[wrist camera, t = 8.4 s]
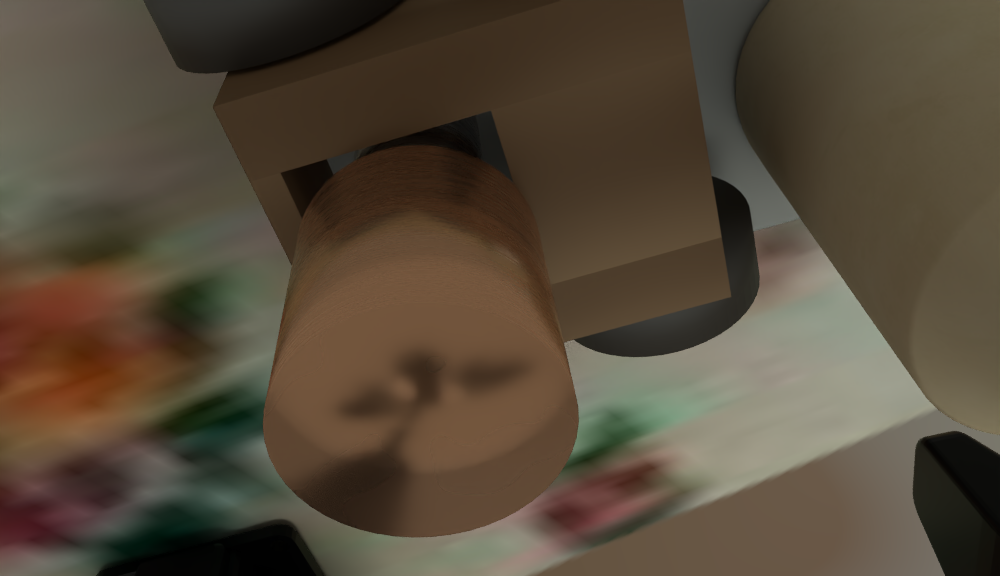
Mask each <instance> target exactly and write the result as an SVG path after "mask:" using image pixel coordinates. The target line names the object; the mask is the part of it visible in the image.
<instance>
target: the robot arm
mask: <svg viewBox="0 0 1000 576" xmlns="http://www.w3.org/2000/svg"><path fill="white" fill-rule="evenodd" d="M913 479H914V480H913V499H914V504H915V507H916V510H917V513H918V516H919V518H920V520H921V523H922V525H923V527H924V529H925V531H926V534H927V536H928V538H929V541H930V543H931V545H932V547H933V549H934V552H935V554H936V556H937V558H938V561H939V563H940V565H941V567H942V570H943V572H944V574H945V576H1000V455H999V454H998V453H996V452H994V451H993V450H991V449H990V448H988V447H986V446H985V445H983V444H981V443H980V442H978V441H977V440H975V439H973V438H972V437H970V436H968V435H966V434H964V433H962V432H958V431H951V432H946V433H941V434H936V435H932V436H927V437H923V438H922V439H920V440H919V441H918V443H917V445H916V449H915V465H914V478H913ZM96 576H324V575H323V573H322V572H321V570H320V568H319V567H318V565H317V564H316V562H315V560H314V559H313V557H312V556H311V554H310V552H309V551H308V549H307V548H306V546H305V544H304V543H303V541H302V540H301V538H300V536H299V535H298V533H297V532H296V531H295V530H294V529H293V528H292V527H290V526H287V525H273V526H269V527H266V528H262V529H258V530H254V531H250V532H246V533H243V534H239V535H235V536H231V537H227V538H223V539H220V540H216V541H212V542H208V543H204V544H200V545H196V546H193V547H189V548H185V549H181V550H177V551H173V552H170V553H166V554H162V555H158V556H154V557H150V558H147V559H143V560H139V561H135V562H131V563H127V564H123V565H120V566H116V567H112V568H108V569H104V570H102V571H100V572H99V573H98V574H97V575H96Z"/></svg>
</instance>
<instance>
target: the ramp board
mask: <svg viewBox="0 0 1000 576" xmlns="http://www.w3.org/2000/svg"><path fill="white" fill-rule="evenodd" d="M769 1H770V0H683V4H684V10H685V16H686V22H687V29H688V35H689V41H690V47H691V53H692V59H693V65H694V71H695V77H696V84H697V90H698V96H699V102H700V108H701V114H702V120H703V126H704V132H705V139H706V145H707V151H708V157H709V163H710V169H711V175H712V176H714V177H717V178H719V179H722V180H724V181H726V182H728V183H730V184H731V185H733V186H734V187H736V188H737V189H738V190H739V191H740V192H741V193H742V194H743V195H744V197H745V198H746V200H747V202H748V204H749V207H750V212H751V219H752V226H753V231H756V230H760V229H764V228H767V227H771V226H775V225H778V224H782V223H785V222H789V221H793V220H796V219H800V217H799V216H798V214H797V213H796V211H795V210H794V208H793V207H792V206H791V204H790V203H789V201H788V200H787V198H786V197H785V196H784V194H783V193H782V191H781V190H780V188H779V187H778V186H777V184H776V183H775V181H774V180H773V178H772V177H771V176H770V174H769V173H768V171H767V170H766V168H765V167H764V165H763V164H762V162H761V161H760V159H759V158H758V156H757V155H756V153H755V152H754V150H753V149H752V147H751V145H750V144H749V142H748V140H747V138H746V135H745V133H744V131H743V128H742V125H741V121H740V118H739V114H738V111H737V104H736V96H735V92H736V75H737V68H738V63H739V59H740V56H741V52H742V49H743V46H744V44H745V41H746V39H747V36H748V34H749V32H750V30H751V28H752V26H753V25H754V23H755V21H756V19H757V18H758V16H759V14H760V13H761V12H762V10H763V9H764V7H765V6H766V5H767V3H768V2H769ZM477 120H478V127H479V134H480V141H481V148H482V154H483V161H484V162H486V163H488V164H490V165H492V166H493V167H494V168H496V169H497V170H498V171H500V172H501V173H503V174H504V175H505V176H506V177H507V178H508V179H509V180H510V181H511V182H512V183H513V180H512V177H511V174H510V171H509V167H508V164H507V161H506V158H505V154H504V151H503V148H502V145H501V141H500V138H499V135H498V132H497V128H496V125H495V122H494V119H493V116H492V112H491V111H487V112H484V113H481V114H477ZM353 158H354V151H353V152H349V153H346V154H342V155H339V156H336V157H332V158H329V159H327V161H328V163H329V166H330V168H331V170H332V172H333V175H334V174H335V173H336V172H338V171H339V170H341V169H342V168H344V167H345V166H346V165H348V164H350V163H352V162H353Z"/></svg>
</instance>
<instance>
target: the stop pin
mask: <svg viewBox="0 0 1000 576" xmlns="http://www.w3.org/2000/svg"><path fill="white" fill-rule="evenodd" d="M578 423H579V417H578V404H577V399H576V395H575V390H574V386H573V381H572V377H571V372H570V368H569V364H568V359H567V355H566V350H565V346H564V341H563V337H562V333H561V328H560V324H559V319H558V315H557V310H556V306H555V302H554V297H553V293H552V288H551V284H550V279H549V275H548V271H547V266H546V262H545V257H544V253H543V248H542V244H541V240H540V235H539V231H538V226H537V222H536V220H535V217H534V214H533V212H532V209H531V207H530V206H529V204H528V202H527V200H526V199H525V197H524V196H523V194H522V193H521V192H520V191H519V189H518V188H517V187H516V185H514V184H513V183H512V182H511V181H510V180H509V179H508V178H507V177H506V176H505V175H504V174H503V173H501V172H500V171H498V170H497V169H496V168H494V167H493V166H492V165H490V164H488V163H486V162H484V161H483V154H482V148H481V141H480V134H479V127H478V120H477V115H474V116H471V117H467V118H464V119H461V120H457V121H454V122H450V123H447V124H444V125H440V126H437V127H434V128H430V129H427V130H423V131H420V132H417V133H413V134H410V135H407V136H403V137H400V138H396V139H393V140H390V141H386V142H383V143H380V144H376V145H373V146H369V147H366V148H363V149H359V150H356V151H354V158H353V162H352V163H350V164H348V165H346V166H345V167H344V168H342V169H341V170H339V171H338V172H336V173H335V174H334V175H333V176H332V177H331V178H330V179H328V180H327V181H326V182H325V183H324V184H323V185H322V187H321V188H320V189H319V190H318V191H317V193H316V194H315V195H314V197H313V198H312V200H311V202H310V203H309V205H308V207H307V208H306V211H305V213H304V216H303V218H302V221H301V225H300V229H299V233H298V238H297V243H296V248H295V253H294V258H293V264H292V269H291V274H290V279H289V284H288V289H287V294H286V300H285V305H284V310H283V315H282V320H281V325H280V330H279V336H278V341H277V346H276V351H275V356H274V361H273V366H272V372H271V377H270V382H269V387H268V392H267V397H266V402H265V408H264V416H263V432H264V440H265V444H266V448H267V451H268V454H269V457H270V459H271V461H272V463H273V465H274V467H275V469H276V471H277V472H278V474H279V475H280V477H281V478H282V479H283V481H284V482H285V484H286V485H287V486H288V487H289V488H290V489H291V490H292V491H293V492H294V493H295V494H296V495H297V496H298V497H299V498H301V499H302V500H303V501H304V502H306V503H307V504H308V505H309V506H311V507H312V508H314V509H316V510H317V511H319V512H320V513H322V514H324V515H325V516H327V517H330V518H332V519H334V520H336V521H338V522H340V523H343V524H345V525H348V526H351V527H354V528H357V529H360V530H364V531H368V532H372V533H377V534H383V535H390V536H399V537H434V536H443V535H451V534H456V533H461V532H466V531H470V530H473V529H476V528H480V527H483V526H486V525H489V524H491V523H494V522H496V521H498V520H501V519H503V518H505V517H507V516H509V515H511V514H513V513H514V512H516V511H518V510H520V509H521V508H523V507H524V506H526V505H527V504H529V503H530V502H532V501H533V500H534V499H535V498H536V497H538V496H539V495H540V494H541V493H542V492H543V491H545V490H546V489H547V488H548V486H549V485H550V484H551V483H552V482H553V481H554V480H555V479H556V478H557V476H558V475H559V473H560V472H561V470H562V469H563V468H564V466H565V464H566V462H567V460H568V458H569V456H570V454H571V452H572V450H573V447H574V444H575V440H576V437H577V430H578Z"/></svg>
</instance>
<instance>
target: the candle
mask: <svg viewBox="0 0 1000 576" xmlns="http://www.w3.org/2000/svg"><path fill="white" fill-rule="evenodd" d="M735 96H736V104H737V111H738V114H739V118H740V121H741V125H742V128H743V131H744V133H745V135H746V138H747V140H748V142H749V144H750V145H751V147H752V149H753V150H754V152H755V153H756V155H757V156H758V158H759V159H760V161H761V162H762V164H763V165H764V167H765V168H766V170H767V171H768V173H769V174H770V176H771V177H772V178H773V180H774V181H775V183H776V184H777V186H778V187H779V188H780V190H781V191H782V193H783V194H784V196H785V197H786V198H787V200H788V201H789V203H790V204H791V206H792V207H793V208H794V210H795V211H796V213H797V214H798V216H799V217H800V218H801V220H802V221H803V223H804V224H805V226H806V227H807V228H808V230H809V231H810V233H811V234H812V236H813V237H814V238H815V240H816V241H817V243H818V244H819V246H820V247H821V248H822V250H823V251H824V253H825V254H826V256H827V257H828V258H829V260H830V261H831V263H832V264H833V265H834V267H835V268H836V270H837V271H838V273H839V274H840V275H841V277H842V278H843V280H844V281H845V283H846V284H847V285H848V287H849V288H850V290H851V291H852V293H853V294H854V295H855V297H856V298H857V300H858V301H859V303H860V304H861V305H862V307H863V308H864V310H865V311H866V313H867V314H868V315H869V317H870V318H871V320H872V321H873V323H874V324H875V325H876V327H877V328H878V330H879V331H880V333H881V334H882V335H883V337H884V338H885V340H886V341H887V343H888V344H889V345H890V347H891V348H892V350H893V351H894V353H895V354H896V355H897V357H898V358H899V360H900V361H901V362H902V364H903V365H904V367H905V368H906V370H907V371H908V372H909V374H910V375H911V377H912V378H913V380H914V381H915V382H916V384H917V385H918V387H919V388H920V389H921V391H922V392H923V394H924V395H925V396H926V398H927V399H928V400H929V401H930V402H931V403H932V404H933V405H934V406H935V407H936V408H937V409H938V410H939V411H941V412H942V413H943V414H945V415H947V416H948V417H949V418H951V419H952V420H954V421H956V422H959V423H960V424H963V425H965V426H967V427H969V428H972V429H975V430H979V431H982V432H986V433H990V434H997V435H1000V0H770V1H769V2H768V3H767V5H766V6H765V7H764V9H763V10H762V12H761V13H760V14H759V16H758V18H757V19H756V21H755V23H754V25H753V26H752V28H751V30H750V32H749V34H748V36H747V39H746V41H745V44H744V46H743V49H742V52H741V56H740V59H739V63H738V68H737V75H736V92H735Z"/></svg>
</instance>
